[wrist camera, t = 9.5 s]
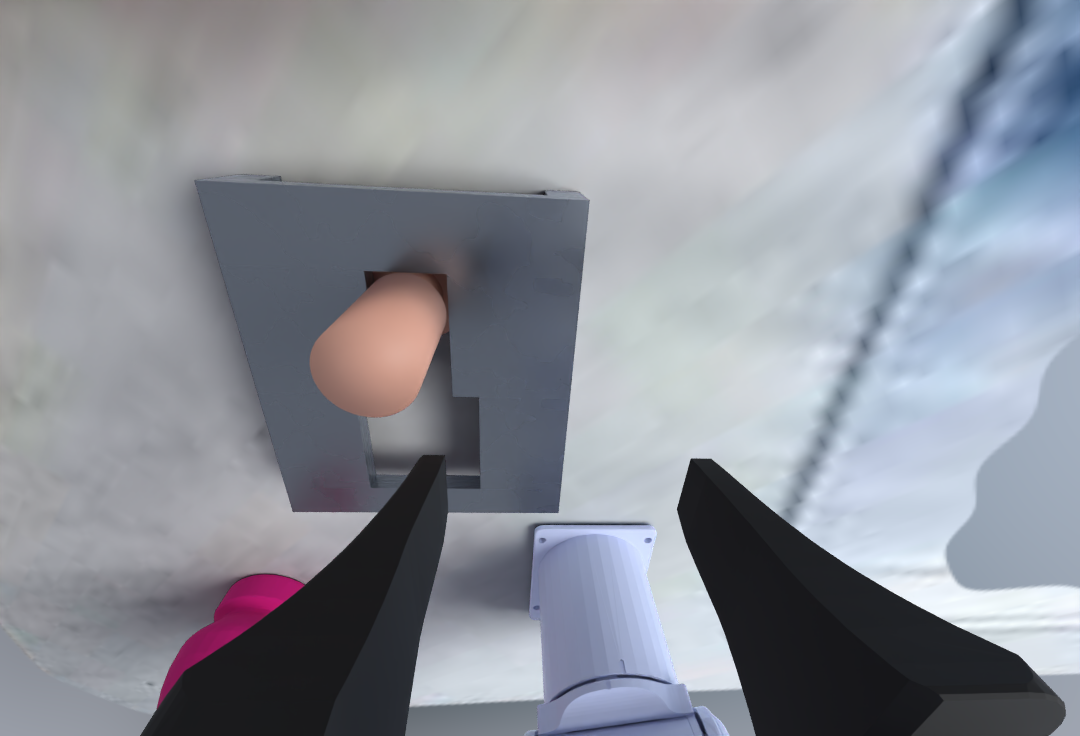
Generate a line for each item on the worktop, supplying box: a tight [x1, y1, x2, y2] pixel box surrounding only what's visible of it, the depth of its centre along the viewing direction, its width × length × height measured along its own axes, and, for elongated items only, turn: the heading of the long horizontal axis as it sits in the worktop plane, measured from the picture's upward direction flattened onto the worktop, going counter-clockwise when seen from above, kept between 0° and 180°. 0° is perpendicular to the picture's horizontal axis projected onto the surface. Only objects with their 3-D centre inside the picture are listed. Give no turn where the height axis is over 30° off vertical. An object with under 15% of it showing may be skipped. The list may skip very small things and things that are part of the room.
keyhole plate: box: [195, 174, 590, 513], centre depth 21 cm, size 16×14×3 cm
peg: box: [310, 271, 449, 417], centre depth 16 cm, size 4×4×9 cm
